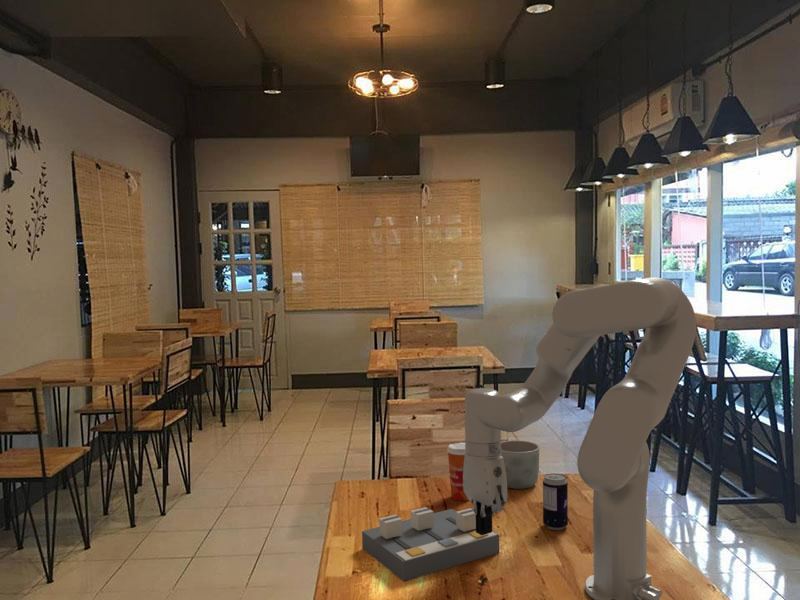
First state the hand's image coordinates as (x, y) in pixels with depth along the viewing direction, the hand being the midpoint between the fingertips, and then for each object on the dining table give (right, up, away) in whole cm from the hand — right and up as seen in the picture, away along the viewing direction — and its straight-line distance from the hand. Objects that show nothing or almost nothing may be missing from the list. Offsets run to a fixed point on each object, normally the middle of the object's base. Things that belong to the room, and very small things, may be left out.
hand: (484, 532), depth 143 cm
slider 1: (-20, -2, +2) cm, 20 cm away
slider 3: (-3, -1, +5) cm, 6 cm away
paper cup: (-1, -4, +37) cm, 37 cm away
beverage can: (+19, -4, +16) cm, 25 cm away
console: (-11, -5, +4) cm, 13 cm away
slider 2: (-13, -1, +6) cm, 14 cm away
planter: (+15, -3, +46) cm, 49 cm away
